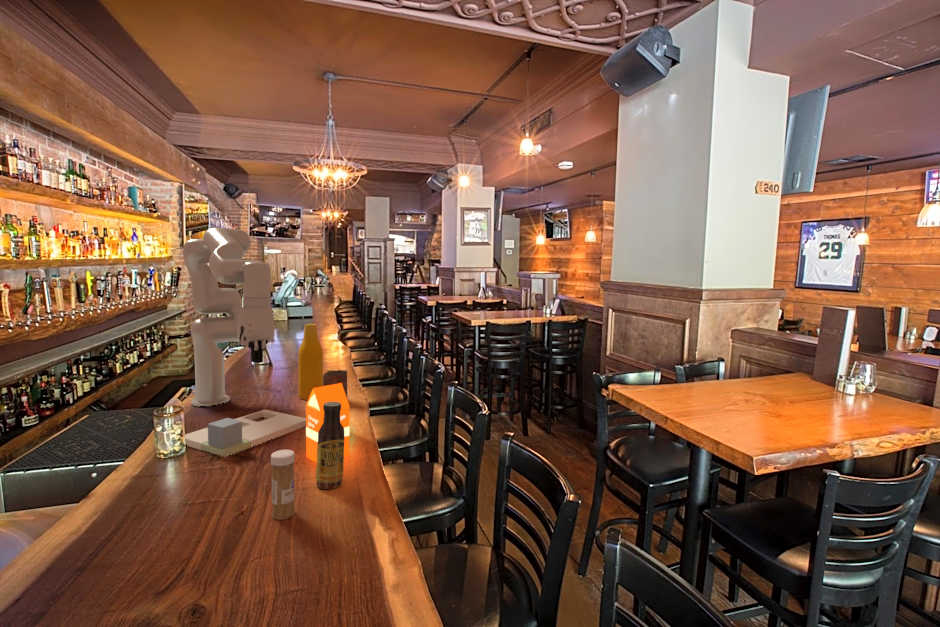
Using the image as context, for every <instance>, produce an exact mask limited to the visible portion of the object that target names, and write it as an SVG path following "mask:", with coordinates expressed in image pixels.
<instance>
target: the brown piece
mask: <svg viewBox="0 0 940 627" xmlns="http://www.w3.org/2000/svg"><path fill="white" fill-rule="evenodd" d="M339 383H342V385H343V388H344V391H345V394H346V397H347V398H348V370H346V369H337V370H335V369H334V370H331V369H330V370H327V371H326V372H324V373H323V386H328V385H333V384H339Z"/></svg>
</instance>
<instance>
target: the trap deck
mask: <svg viewBox="0 0 940 627" xmlns="http://www.w3.org/2000/svg"><path fill="white" fill-rule="evenodd" d="M260 417H261V418H262V417H264V418H263V420H260V421H256V420H258V419H261V418H260ZM257 418H258V419H257ZM266 418H268V419H266ZM234 419H235V420H239V421H242V442H241V443H238V444H236V445H233V446H230V447H227V448H225V449H220V448H217V447H214V446H210V445H208V427H204V428H202V429H198V430H195V431H191V432H189V433H186V434H184V435H185V441H186V444H187V447H189V448H191V449H192V448H193V449H195V450H199V451H202V450H203V451H202V452H205V451H207V452H206V453H208V452H210V453H209V454H212V453H213V455H215V454H217V455H216V456H218V455H221V456H220V457H222V456H223V457H222V458H225V457H226V458H228V457H230V456H229V455H231V456H233V455H235V453H236V454H238V453H240V452H239V451H241V452H243V451H246V450H248V449H247V448H249V449H251V448H253V446H254V447H256V446H258V444H259V445H261V444H264V443H267V442H269V441H272V440H274V439H276V437H277V438H279V437H282V436H284V435H287V434H290V433H291V432H295V431H298V430H300V429H303V428H304V427H305V428H306V417H302V416H298V415H293V414H288V413H284V412H279V411H276V410H275V411H274V410H270V409H266V408H265V409H261V410H260V411H259V410H258V411H256V412H252V413H248V414H246V415H244V416H240V417H236V418H234ZM254 419H255V420H254ZM271 439H272V440H271ZM268 440H269V441H268ZM266 441H267V442H266ZM263 442H264V443H263ZM255 445H256V446H255ZM250 447H251V448H250ZM245 449H246V450H245ZM242 450H243V451H242ZM237 452H238V453H237ZM232 454H233V455H232ZM227 456H228V457H227Z"/></svg>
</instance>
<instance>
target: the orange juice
mask: <svg viewBox="0 0 940 627" xmlns="http://www.w3.org/2000/svg"><path fill="white" fill-rule="evenodd" d="M326 402H339V403H341V410H340V423H341V424H342V426H343V428H344V459H346V458H348V457H350V431H351V430H350V403H349V400H348V396H347V397H346V394H345V391H344V388H343V385H342V383H339V384H333V385H328V386H322V387H317V388H313V390H312V392H311V395H310V397H309V400H307V402H306V405H305V418H306V426H305V435H306V436H305V439H306V440H305V443H306V444H305V445H306V446H305V448H306V451H305V452H306V453H305V455H306V458H307V459H308V460H310V461H311V462H314V463H316V464H317V443H318V432H319V430H320V428H321V426H322V424H323V422H324V421H323V420H324V410H323V406H324V403H326Z"/></svg>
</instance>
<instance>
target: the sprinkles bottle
mask: <svg viewBox="0 0 940 627" xmlns="http://www.w3.org/2000/svg"><path fill="white" fill-rule="evenodd" d="M295 457H296V456H295V452H294V450H292V449H279V450H276V451H274V452H272V453H271V455H270V464H271V503H272V513H271V517H272V519H274V520H279V521H281V520H287V519H289V518H291V517H292V516H294V514H295V513H296V511H295V509H296V508H295V474H294V473H295V468H294V467H295V466H294V465H295V464H294V463H295V459H296V458H295Z"/></svg>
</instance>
